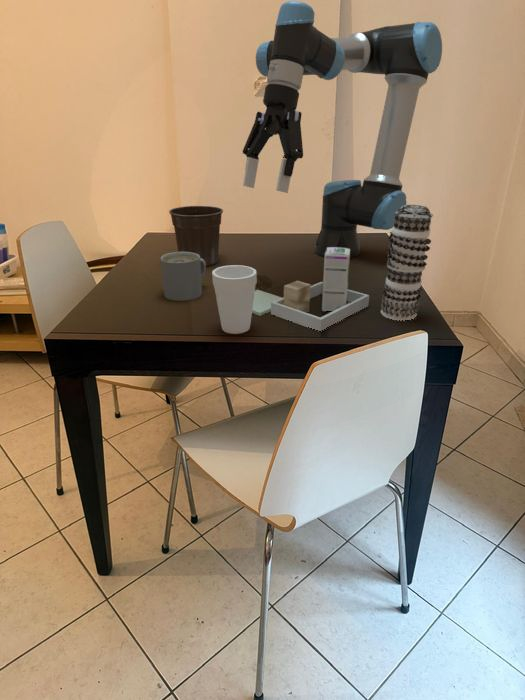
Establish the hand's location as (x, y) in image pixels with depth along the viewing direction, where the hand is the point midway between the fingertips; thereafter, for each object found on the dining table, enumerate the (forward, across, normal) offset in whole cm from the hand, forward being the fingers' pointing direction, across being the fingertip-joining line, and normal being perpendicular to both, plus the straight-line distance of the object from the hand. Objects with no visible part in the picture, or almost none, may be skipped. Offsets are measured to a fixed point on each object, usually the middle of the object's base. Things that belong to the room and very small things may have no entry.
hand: (264, 189), depth 107 cm
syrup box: (+24, +13, +18) cm, 33 cm away
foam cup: (+31, +9, -7) cm, 33 cm away
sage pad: (+27, 0, +4) cm, 27 cm away
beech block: (+26, +10, +9) cm, 30 cm away
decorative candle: (+22, +24, +28) cm, 43 cm away
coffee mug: (+29, -17, -6) cm, 34 cm away
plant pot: (+24, -40, +8) cm, 47 cm away
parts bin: (+25, +12, +14) cm, 31 cm away
